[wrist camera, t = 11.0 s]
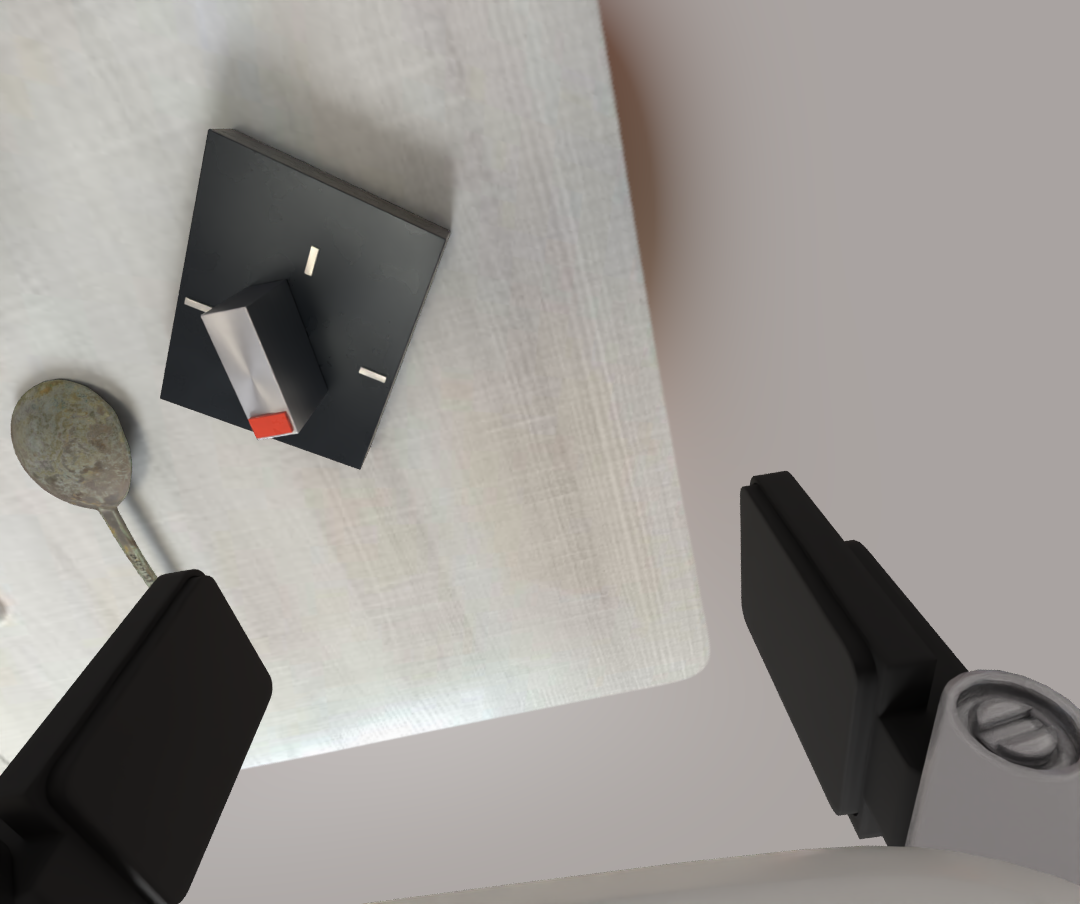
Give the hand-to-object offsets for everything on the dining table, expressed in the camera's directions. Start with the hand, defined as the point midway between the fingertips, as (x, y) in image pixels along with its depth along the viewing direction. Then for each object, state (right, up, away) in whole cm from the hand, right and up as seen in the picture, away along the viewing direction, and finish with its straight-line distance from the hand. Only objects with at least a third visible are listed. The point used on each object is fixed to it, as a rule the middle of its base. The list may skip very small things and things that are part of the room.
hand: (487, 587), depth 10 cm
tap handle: (-12, +8, +20) cm, 25 cm away
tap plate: (-12, +10, +22) cm, 27 cm away
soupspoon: (-25, -3, +29) cm, 38 cm away
